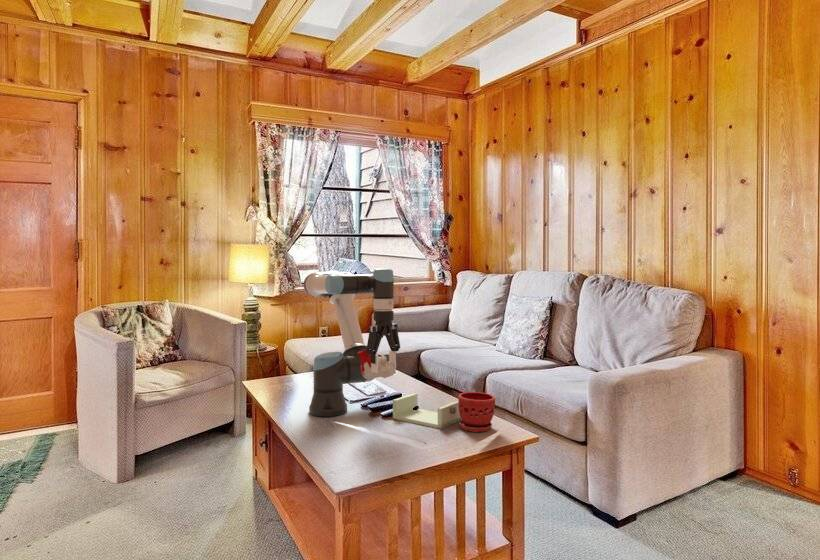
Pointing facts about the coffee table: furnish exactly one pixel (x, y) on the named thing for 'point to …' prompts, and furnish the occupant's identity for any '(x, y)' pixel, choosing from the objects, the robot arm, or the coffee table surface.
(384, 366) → the candle
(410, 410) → the holder
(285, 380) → the coffee table surface
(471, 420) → the plant pot
